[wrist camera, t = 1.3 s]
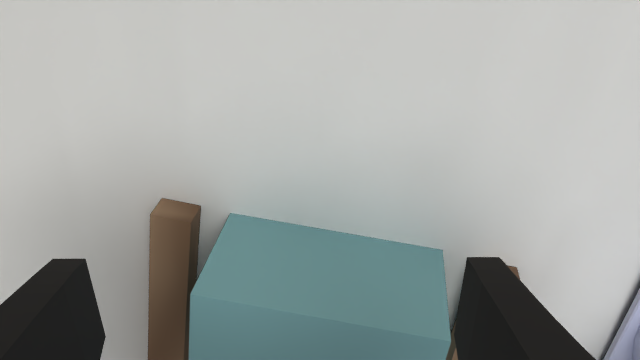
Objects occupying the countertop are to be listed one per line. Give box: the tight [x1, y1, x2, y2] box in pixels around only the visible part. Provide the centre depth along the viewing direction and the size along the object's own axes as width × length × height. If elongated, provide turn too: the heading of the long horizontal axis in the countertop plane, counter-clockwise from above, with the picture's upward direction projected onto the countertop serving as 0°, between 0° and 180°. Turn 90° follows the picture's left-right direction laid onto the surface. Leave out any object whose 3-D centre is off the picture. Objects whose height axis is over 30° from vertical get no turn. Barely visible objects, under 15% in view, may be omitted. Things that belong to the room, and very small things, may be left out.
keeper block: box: [189, 213, 451, 360], centre depth 22 cm, size 8×6×5 cm
